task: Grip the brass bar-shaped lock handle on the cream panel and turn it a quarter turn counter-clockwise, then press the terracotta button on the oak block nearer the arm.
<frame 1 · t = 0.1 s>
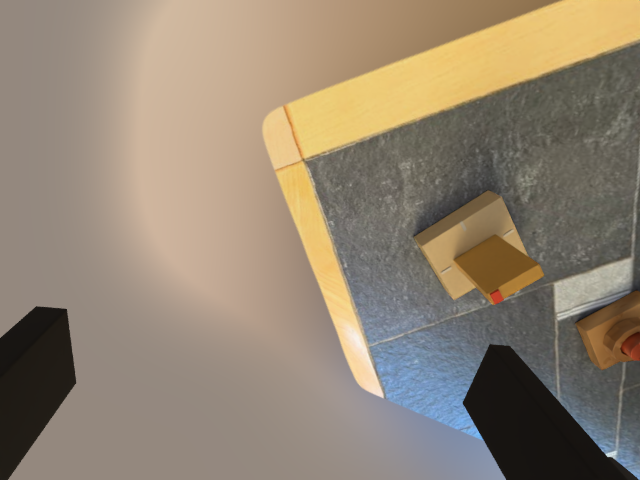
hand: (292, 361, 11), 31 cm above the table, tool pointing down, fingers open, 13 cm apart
button: (638, 346, 51), point 4 cm above the table, slide at 0.1 cm
button block: (612, 327, 55), on the table
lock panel: (465, 242, 46), on the table
lock knob: (495, 267, 40), point 7 cm above the table, hinge at 0.0°
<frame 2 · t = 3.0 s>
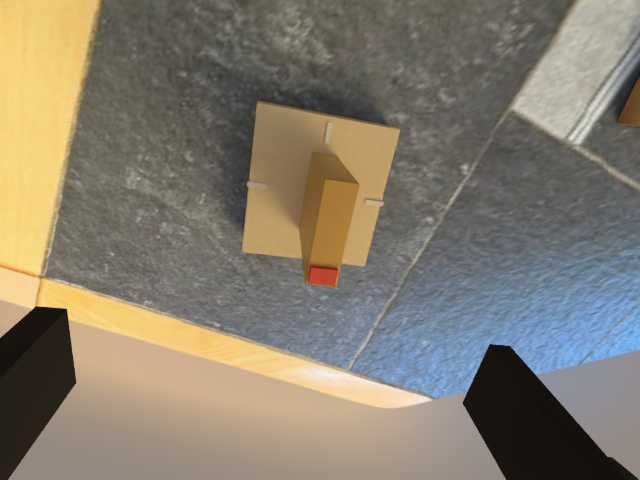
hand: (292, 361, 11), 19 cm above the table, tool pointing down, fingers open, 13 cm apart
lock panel: (313, 183, 28), on the table
lock knob: (323, 212, 21), point 7 cm above the table, hinge at 0.0°
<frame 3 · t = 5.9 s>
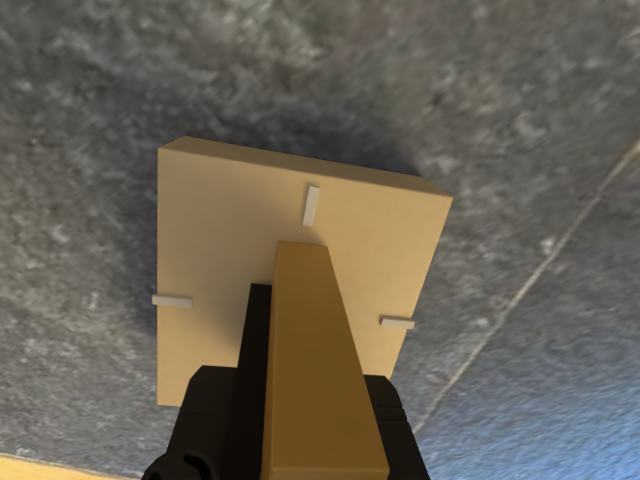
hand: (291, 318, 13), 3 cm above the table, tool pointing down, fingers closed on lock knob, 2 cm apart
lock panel: (289, 273, 16), on the table
lock knob: (294, 399, 10), point 7 cm above the table, hinge at 0.4°, touching gripper
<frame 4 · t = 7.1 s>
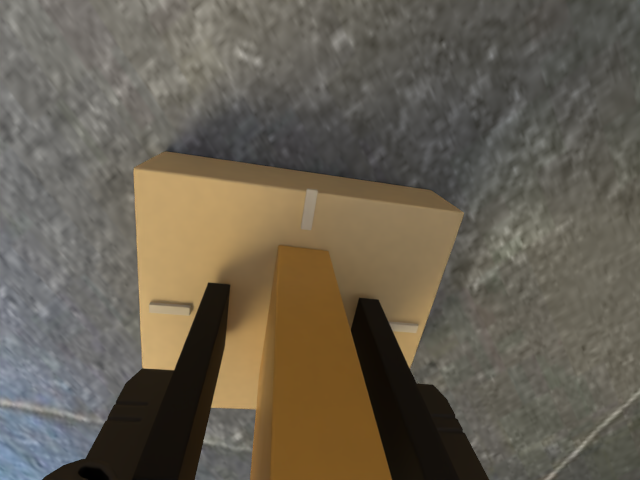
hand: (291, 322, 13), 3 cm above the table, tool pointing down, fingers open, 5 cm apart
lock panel: (289, 277, 16), on the table
lock knob: (294, 410, 9), point 7 cm above the table, hinge at 89.3°
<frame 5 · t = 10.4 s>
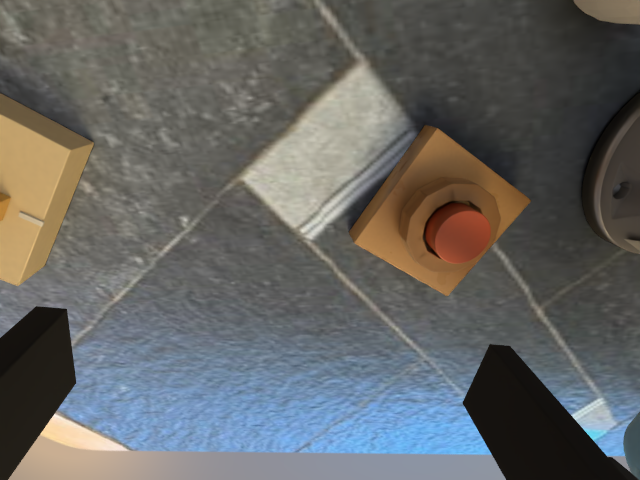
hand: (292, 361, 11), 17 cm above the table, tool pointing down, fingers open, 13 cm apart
button: (457, 233, 24), point 4 cm above the table, slide at 0.1 cm
button block: (431, 212, 28), on the table
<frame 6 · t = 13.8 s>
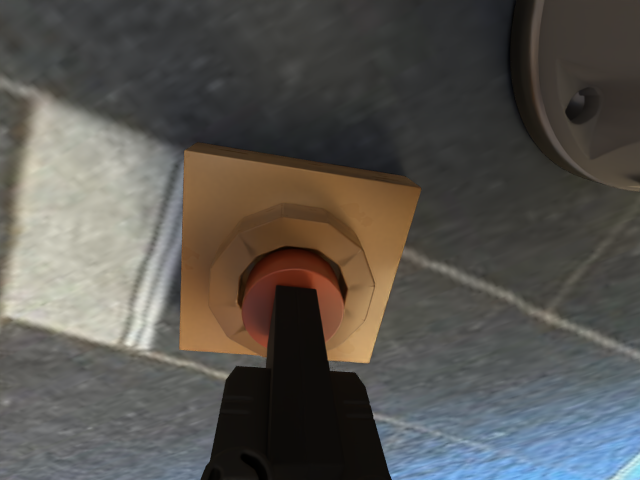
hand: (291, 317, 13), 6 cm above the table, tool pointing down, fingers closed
button: (293, 301, 14), point 4 cm above the table, slide at 0.0 cm, touching gripper
button block: (291, 254, 18), on the table
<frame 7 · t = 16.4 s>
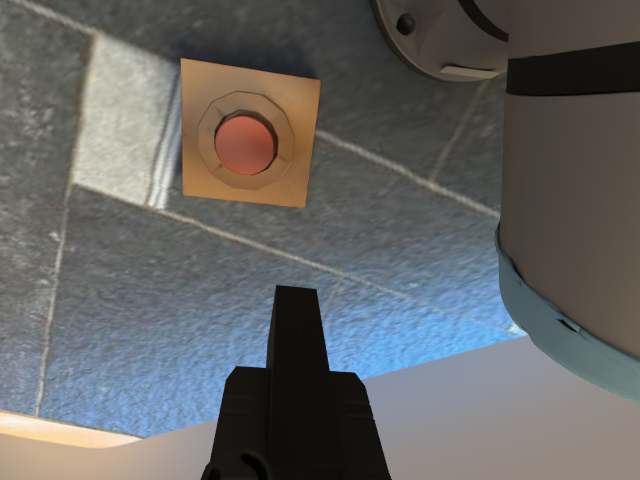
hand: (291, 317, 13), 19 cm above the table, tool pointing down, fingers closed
button: (245, 144, 24), point 4 cm above the table, slide at 0.1 cm
button block: (251, 136, 29), on the table
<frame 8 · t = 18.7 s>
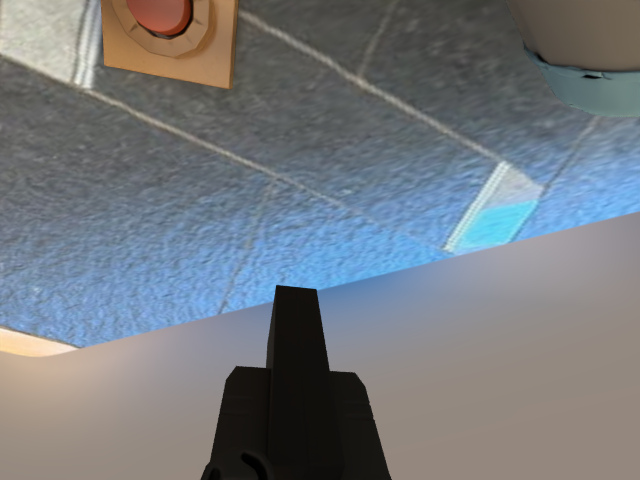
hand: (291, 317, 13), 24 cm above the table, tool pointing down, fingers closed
button: (159, 1, 25), point 4 cm above the table, slide at 0.1 cm
button block: (176, 13, 29), on the table
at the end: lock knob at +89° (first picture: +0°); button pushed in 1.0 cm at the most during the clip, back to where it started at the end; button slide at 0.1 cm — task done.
